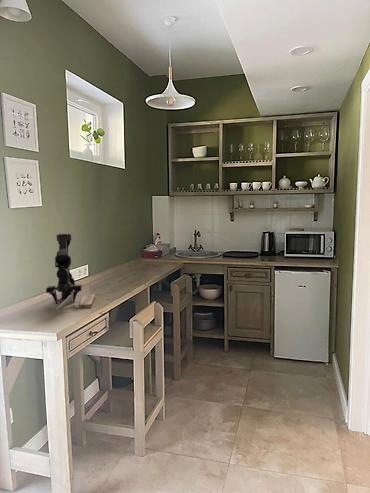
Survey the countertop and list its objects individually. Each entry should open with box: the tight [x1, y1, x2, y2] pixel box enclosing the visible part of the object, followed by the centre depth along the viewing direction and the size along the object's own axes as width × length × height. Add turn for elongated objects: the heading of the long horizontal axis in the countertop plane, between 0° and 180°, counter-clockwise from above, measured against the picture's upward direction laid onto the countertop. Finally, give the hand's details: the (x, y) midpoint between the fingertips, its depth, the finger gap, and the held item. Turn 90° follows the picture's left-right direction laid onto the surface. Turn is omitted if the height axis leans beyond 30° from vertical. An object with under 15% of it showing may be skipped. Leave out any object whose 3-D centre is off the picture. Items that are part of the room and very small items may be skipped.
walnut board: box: [78, 294, 96, 309], centre depth 220 cm, size 6×24×2 cm, turn 8°
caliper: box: [55, 292, 74, 311], centre depth 215 cm, size 20×1×6 cm, turn 170°
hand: (65, 303), depth 215 cm, fingers open, 9 cm apart
